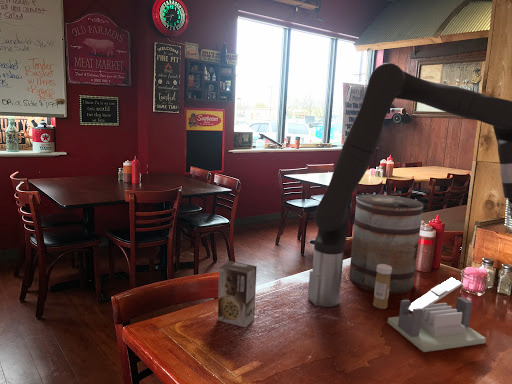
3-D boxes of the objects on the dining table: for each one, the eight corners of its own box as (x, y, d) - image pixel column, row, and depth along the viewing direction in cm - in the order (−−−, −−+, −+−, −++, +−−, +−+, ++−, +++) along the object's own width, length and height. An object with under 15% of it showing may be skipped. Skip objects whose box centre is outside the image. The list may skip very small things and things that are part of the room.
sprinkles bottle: (390, 307, 136) (395, 267, 133) (380, 310, 134) (385, 269, 131) (379, 301, 140) (383, 262, 137) (369, 304, 137) (373, 264, 135)
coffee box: (255, 318, 124) (257, 265, 121) (245, 328, 119) (247, 273, 116) (227, 311, 128) (229, 259, 125) (216, 320, 122) (218, 266, 119)
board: (423, 352, 111) (427, 319, 109) (386, 322, 126) (390, 292, 124) (485, 343, 117) (490, 311, 115) (443, 315, 132) (447, 287, 130)
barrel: (424, 283, 157) (434, 203, 151) (393, 300, 141) (404, 211, 136) (369, 265, 173) (377, 192, 167) (336, 279, 157) (344, 198, 151)
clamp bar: (415, 315, 116) (414, 311, 116) (407, 309, 119) (405, 305, 119) (461, 284, 119) (460, 281, 118) (452, 279, 122) (451, 276, 122)
